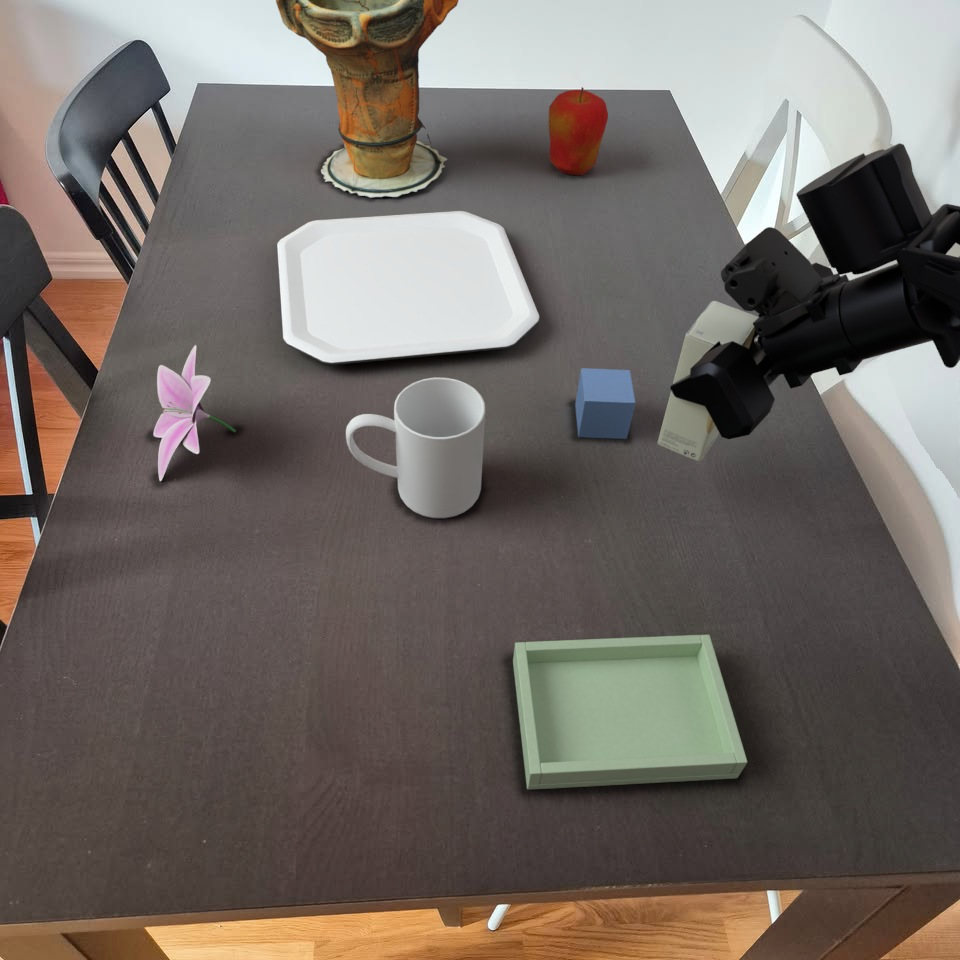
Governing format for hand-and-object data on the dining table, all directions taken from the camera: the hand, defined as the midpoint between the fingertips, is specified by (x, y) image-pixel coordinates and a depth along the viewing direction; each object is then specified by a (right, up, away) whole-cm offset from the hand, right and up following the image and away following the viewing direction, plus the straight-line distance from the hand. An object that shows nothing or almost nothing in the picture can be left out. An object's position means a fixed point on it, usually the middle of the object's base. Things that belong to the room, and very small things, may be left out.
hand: (693, 372), depth 72 cm
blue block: (-6, -3, +15) cm, 16 cm away
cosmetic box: (+1, -5, +4) cm, 7 cm away
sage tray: (-8, -28, -8) cm, 30 cm away
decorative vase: (-33, +36, +50) cm, 70 cm away
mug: (-24, -10, +7) cm, 28 cm away
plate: (-28, +13, +29) cm, 42 cm away
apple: (-5, +37, +52) cm, 64 cm away
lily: (-47, -6, +10) cm, 48 cm away
